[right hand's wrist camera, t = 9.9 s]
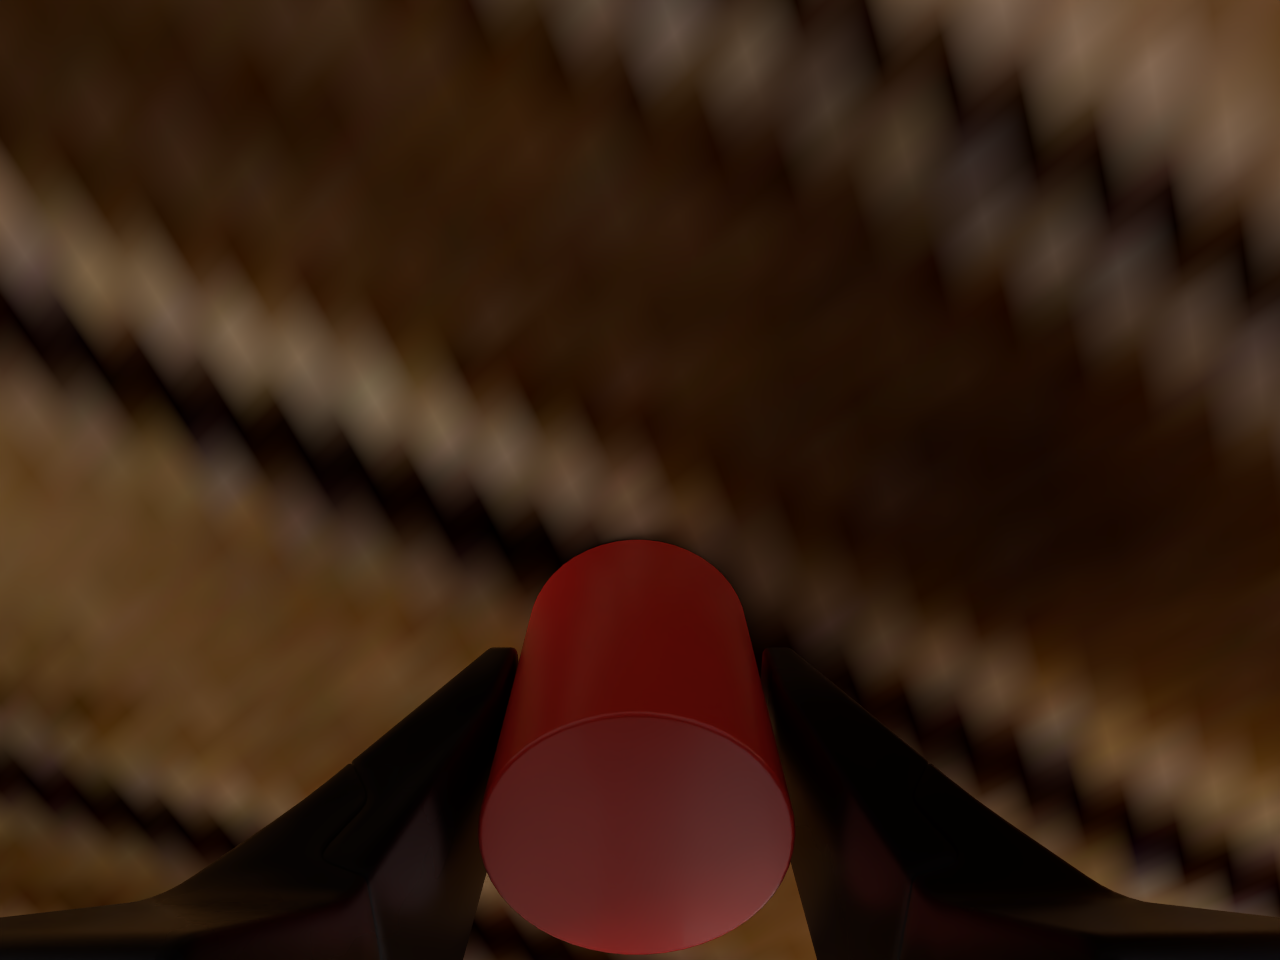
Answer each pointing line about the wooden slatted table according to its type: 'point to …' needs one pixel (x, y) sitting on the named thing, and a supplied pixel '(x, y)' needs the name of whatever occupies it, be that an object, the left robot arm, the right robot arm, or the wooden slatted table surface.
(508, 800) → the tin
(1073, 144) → the wooden slatted table surface
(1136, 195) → the wooden slatted table surface
